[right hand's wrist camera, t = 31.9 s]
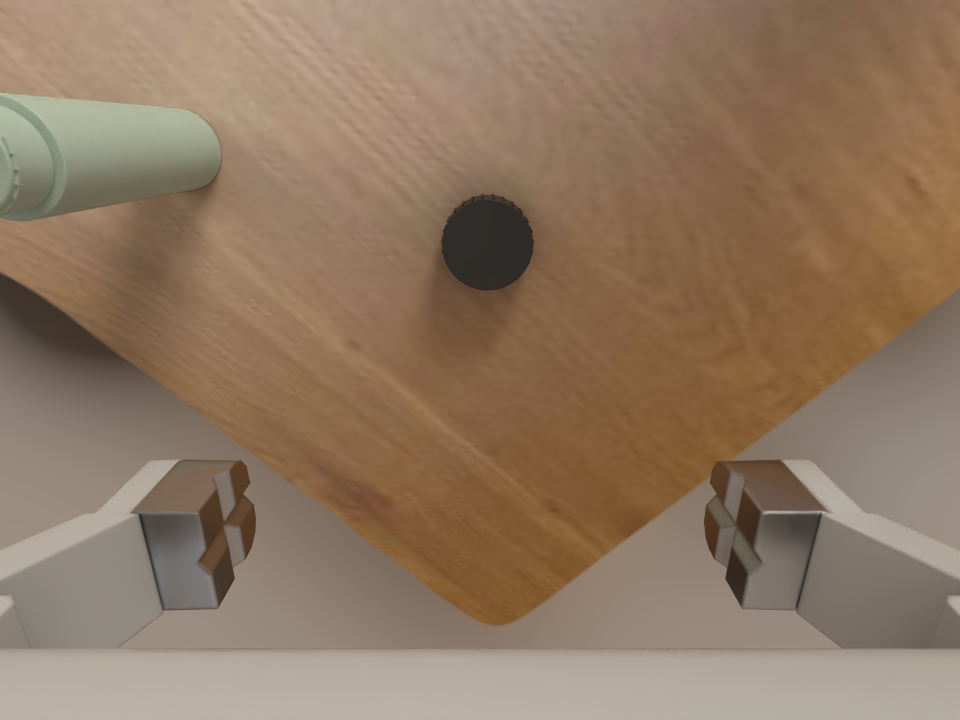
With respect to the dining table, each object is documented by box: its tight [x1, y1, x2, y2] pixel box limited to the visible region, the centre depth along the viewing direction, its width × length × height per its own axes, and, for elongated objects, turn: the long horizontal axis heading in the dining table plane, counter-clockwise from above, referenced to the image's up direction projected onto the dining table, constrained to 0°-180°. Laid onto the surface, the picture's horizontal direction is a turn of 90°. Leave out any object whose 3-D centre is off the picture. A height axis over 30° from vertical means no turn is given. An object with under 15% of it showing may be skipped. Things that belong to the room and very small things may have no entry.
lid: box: [442, 194, 534, 290], centre depth 34 cm, size 5×5×2 cm
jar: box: [0, 93, 221, 221], centre depth 26 cm, size 4×4×15 cm
